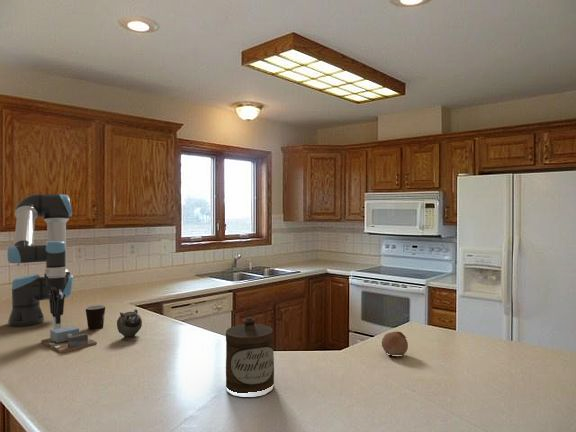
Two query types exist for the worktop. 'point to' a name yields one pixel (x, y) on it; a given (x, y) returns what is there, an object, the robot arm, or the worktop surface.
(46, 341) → the base
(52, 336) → the block
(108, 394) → the worktop surface
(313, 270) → the worktop surface
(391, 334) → the brown round lump
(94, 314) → the coffee mug
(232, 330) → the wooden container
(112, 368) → the worktop surface
